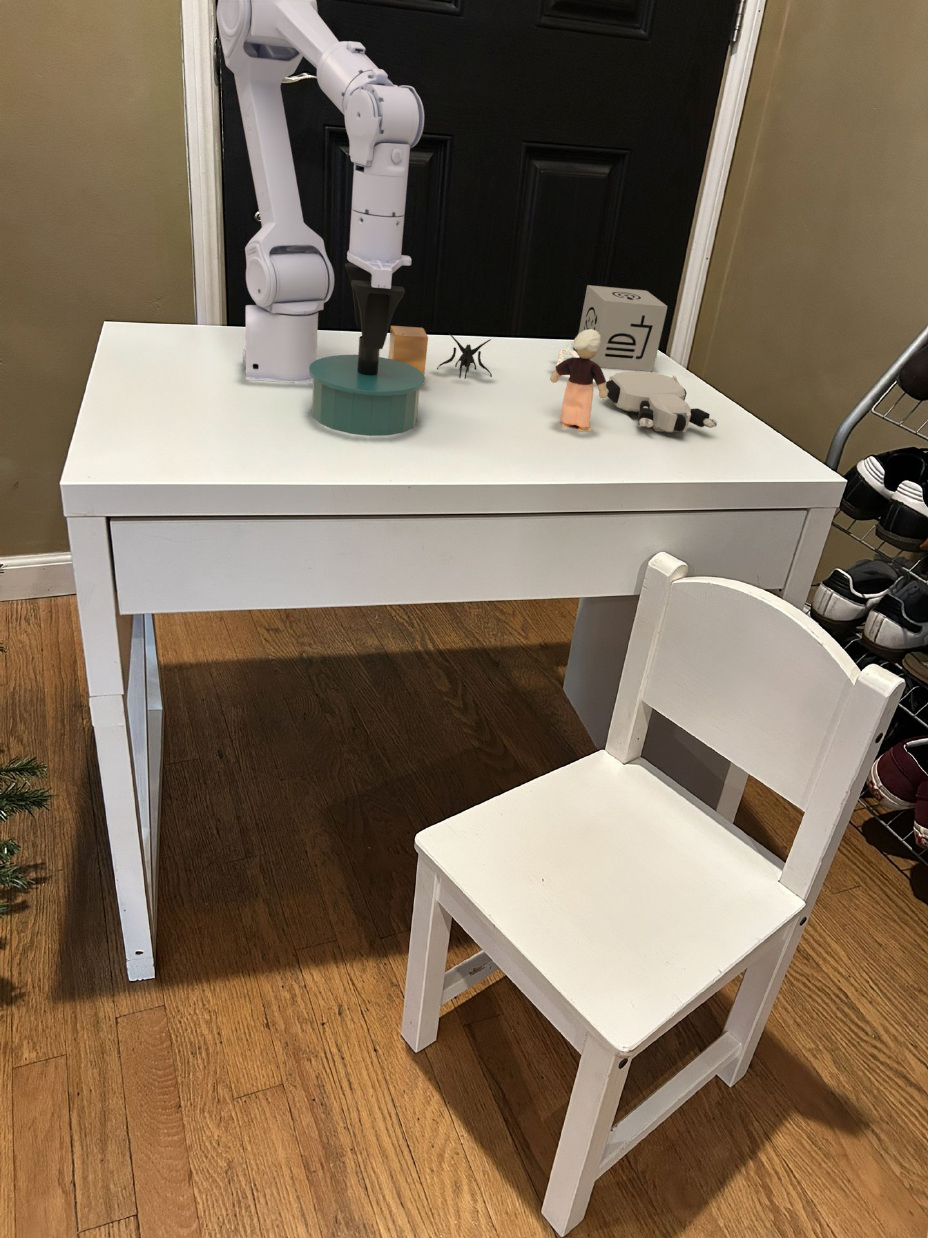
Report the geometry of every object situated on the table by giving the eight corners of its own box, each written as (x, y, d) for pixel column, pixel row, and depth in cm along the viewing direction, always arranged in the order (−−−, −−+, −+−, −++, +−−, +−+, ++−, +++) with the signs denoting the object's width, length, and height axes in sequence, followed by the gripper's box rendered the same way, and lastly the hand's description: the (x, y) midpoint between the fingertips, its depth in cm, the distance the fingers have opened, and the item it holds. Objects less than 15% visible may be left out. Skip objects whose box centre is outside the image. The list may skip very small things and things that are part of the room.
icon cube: (652, 371, 148) (667, 306, 143) (592, 366, 146) (604, 300, 141) (633, 352, 157) (646, 290, 151) (575, 347, 155) (587, 285, 149)
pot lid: (312, 397, 104) (313, 351, 102) (305, 360, 116) (307, 318, 113) (432, 403, 107) (437, 359, 105) (415, 366, 119) (419, 325, 116)
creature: (489, 393, 132) (494, 365, 138) (493, 358, 129) (498, 331, 134) (433, 385, 132) (441, 357, 138) (436, 350, 129) (444, 323, 134)
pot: (315, 437, 107) (317, 390, 105) (309, 400, 118) (311, 356, 115) (422, 442, 110) (427, 396, 107) (407, 405, 121) (411, 363, 118)
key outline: (541, 357, 147) (543, 346, 147) (572, 359, 149) (574, 348, 148) (564, 384, 137) (566, 372, 136) (597, 386, 138) (599, 374, 137)
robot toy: (717, 446, 124) (665, 399, 135) (727, 414, 121) (674, 368, 133) (634, 446, 120) (588, 397, 131) (643, 413, 117) (595, 366, 129)
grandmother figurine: (603, 431, 121) (623, 332, 115) (597, 440, 118) (617, 338, 111) (545, 418, 123) (562, 319, 116) (538, 427, 120) (555, 326, 113)
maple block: (390, 387, 126) (394, 334, 123) (386, 376, 130) (390, 325, 126) (423, 388, 127) (428, 336, 124) (418, 378, 131) (423, 327, 127)
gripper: (424, 227, 97) (412, 359, 104) (405, 204, 109) (395, 323, 116) (356, 221, 95) (348, 354, 102) (344, 197, 107) (338, 318, 114)
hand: (369, 337), depth 109 cm, fingers open, 7 cm apart
